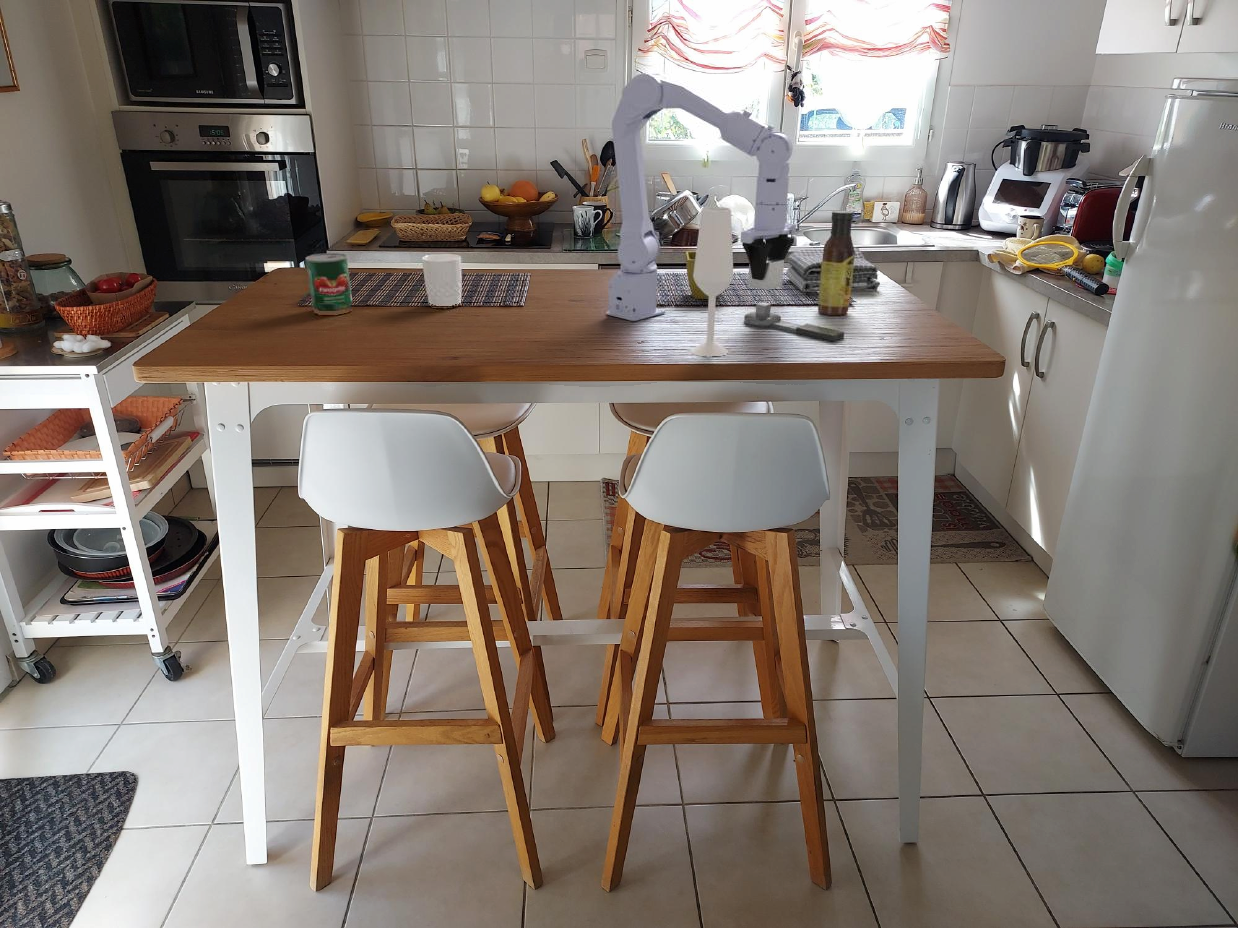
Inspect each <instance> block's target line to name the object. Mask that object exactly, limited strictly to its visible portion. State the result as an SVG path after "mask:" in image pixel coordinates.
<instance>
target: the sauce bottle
mask: <svg viewBox="0 0 1238 928" xmlns="http://www.w3.org/2000/svg"><path fill="white" fill-rule="evenodd" d="M853 219H854V212H853V211H851V210H833V211H832V212H831V230H830V236H829V238H828V240H826V242H825V244H824V247H823V249H824V250H823V260H822V266H821V276H820V287H819V293H818V300H817V304H818V306H817V311H818V312H819V313H820V314H822V315H828V316H841V315H846V314H848V313H849V307H850V303H851V293H852V292H851V286H852V277H853V267H854V259H855V251H854V248H855V247H854V244H853V240H852V222H853Z"/></svg>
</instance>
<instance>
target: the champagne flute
mask: <svg viewBox="0 0 1238 928" xmlns="http://www.w3.org/2000/svg"><path fill="white" fill-rule="evenodd" d="M698 227H699V229H698V235H697V243H696V251H695V252H696V258H695V265H694V273H693V278H694V281H695V283H696V284H697V286H698V287H699V288H700V289H701V290H702V291H703V292H704V293H705V294H706V295H708V296H709V299H708V309H707V324H706V325H707V329H706V331H707V332H706V341H704V342H702V343H700V344H698V345H697V346H695V347H693V348H691V349H690V353H691V354H692V353H693V355H694V356H697V355H698V356H697V357H702V356H711V357H710V358H713V357H712V356H721V357H724V356H723V355H725V356H727V355H728V354H729V353H730V351H729V350H728V349H727V348H725V347H723V346H722V345H720V344H719V343H718V342H716V341H715V340H714V339H715V320H716V319H715V317H716V300H717V299H716V296H717V295H719V294H720V295H721V294H722V293H723V292H725V290H726V289H728V288H729V286H730V284H731V283H732V282H733V280H734V260H733V258H734V255H733V254H734V253H733V228H732V227H733V226H732V209H731V207H724V206H705V207H702V208H701V215H700V221H699V226H698ZM728 351H729V352H728ZM727 353H728V354H727Z"/></svg>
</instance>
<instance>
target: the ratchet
mask: <svg viewBox="0 0 1238 928" xmlns="http://www.w3.org/2000/svg"><path fill="white" fill-rule="evenodd" d="M771 307H772V304H771V303H768V302H764V301H763V302H758V303H756V304H755V312H749V313H746V314H745V315H744V319H743V323H744V324H745V325H744V326H748V327H751V328H757V329H775V330H779V331H782V332H787V333H792V334H795V335H797V336H798V335H799V336H802V337H806V338H811V339H815V340H818V341H819V340H820V341H824V342H826V343H827V342H828V343H832V344H833V343H835V342H839V341H841V340H844V339H845V331H841V330H838V329H832V328H828V327H825V326H820V325H814V324H809V323H805V324H800V323H799V324H798V323H793V322H789V321H786V320H785V321H784V320H782V316H780V314H777V313H773V312H771V311H772V310H771V309H772V308H771Z"/></svg>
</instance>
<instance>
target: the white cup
mask: <svg viewBox="0 0 1238 928" xmlns="http://www.w3.org/2000/svg"><path fill="white" fill-rule="evenodd" d="M421 263H422V264H421V265H422V269H423V270H422V271H423V276H424V278H423V279H424V284H425V290H426V295H427V300H428V301H427V302H428V304H429V303H430V304H433V305H436V306H452V305H455V304H459V303H461V300H462V293H463V289H462V287H463V282H462V281H463V279H462V256H461V255H459V254H455V253H454V254H453V253H436V254H428V255H425V256H422V257H421Z"/></svg>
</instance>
